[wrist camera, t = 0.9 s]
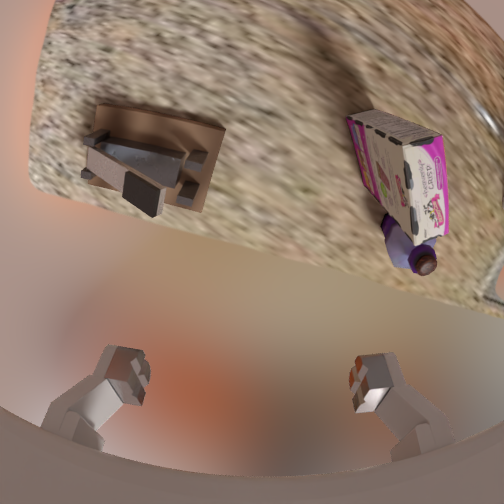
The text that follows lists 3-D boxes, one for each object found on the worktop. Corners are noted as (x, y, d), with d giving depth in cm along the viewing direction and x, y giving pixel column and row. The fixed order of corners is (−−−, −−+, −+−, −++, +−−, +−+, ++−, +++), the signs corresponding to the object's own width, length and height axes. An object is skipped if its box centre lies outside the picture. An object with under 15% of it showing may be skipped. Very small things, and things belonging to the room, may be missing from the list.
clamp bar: (91, 166, 32) (83, 169, 31) (93, 145, 30) (84, 147, 29) (161, 213, 28) (151, 217, 27) (166, 187, 27) (156, 190, 25)
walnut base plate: (94, 178, 38) (88, 183, 37) (103, 103, 32) (96, 105, 30) (203, 206, 41) (201, 212, 40) (226, 129, 35) (224, 131, 33)
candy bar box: (392, 176, 38) (450, 235, 25) (363, 186, 39) (413, 249, 26) (376, 106, 32) (445, 134, 19) (343, 114, 33) (400, 146, 20)
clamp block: (96, 165, 35) (79, 178, 31) (100, 128, 32) (82, 137, 28) (198, 190, 38) (191, 206, 34) (208, 152, 35) (202, 164, 31)
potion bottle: (418, 195, 40) (457, 235, 30) (415, 239, 45) (447, 283, 35) (371, 204, 41) (403, 248, 31) (372, 249, 46) (398, 297, 36)
